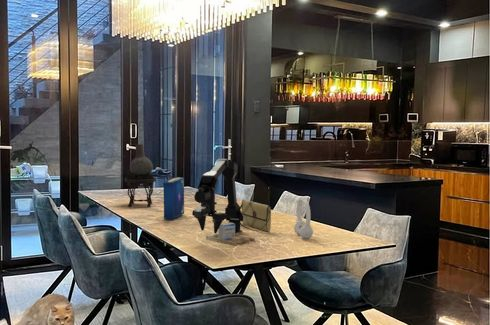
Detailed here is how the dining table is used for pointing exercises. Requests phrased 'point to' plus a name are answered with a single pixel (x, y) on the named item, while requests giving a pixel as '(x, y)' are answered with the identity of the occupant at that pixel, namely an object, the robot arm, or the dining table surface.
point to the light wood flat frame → (213, 237)
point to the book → (173, 198)
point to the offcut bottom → (242, 242)
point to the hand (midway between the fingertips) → (208, 231)
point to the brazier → (140, 175)
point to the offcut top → (240, 238)
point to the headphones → (301, 226)
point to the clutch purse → (256, 215)
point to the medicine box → (227, 231)
